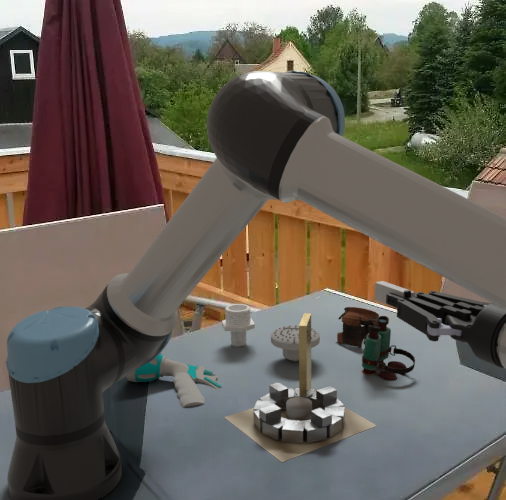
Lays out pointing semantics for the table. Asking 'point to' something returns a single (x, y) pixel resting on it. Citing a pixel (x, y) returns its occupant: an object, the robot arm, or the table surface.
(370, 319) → the brown leather pouch
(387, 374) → the binoculars
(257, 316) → the table surface
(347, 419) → the base
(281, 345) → the showerhead
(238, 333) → the pipe fitting
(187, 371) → the garden hose nozzle
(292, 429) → the block ring with board
